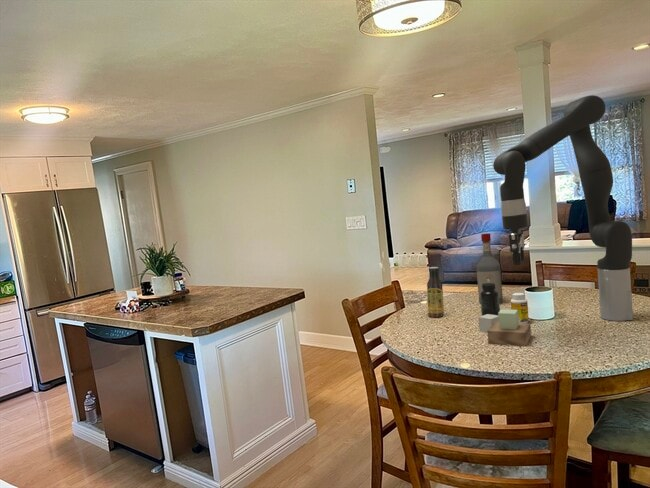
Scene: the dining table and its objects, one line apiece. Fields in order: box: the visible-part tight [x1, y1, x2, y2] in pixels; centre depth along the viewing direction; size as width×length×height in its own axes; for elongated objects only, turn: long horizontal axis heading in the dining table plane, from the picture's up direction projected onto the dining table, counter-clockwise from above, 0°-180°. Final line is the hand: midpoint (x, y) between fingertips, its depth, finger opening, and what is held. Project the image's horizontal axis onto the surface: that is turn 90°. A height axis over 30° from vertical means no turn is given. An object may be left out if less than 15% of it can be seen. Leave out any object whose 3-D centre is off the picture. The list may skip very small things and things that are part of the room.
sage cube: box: [498, 308, 519, 329], centre depth 141 cm, size 5×5×5 cm
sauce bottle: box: [426, 266, 445, 318], centre depth 179 cm, size 7×6×20 cm
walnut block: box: [486, 322, 532, 346], centre depth 142 cm, size 11×11×4 cm
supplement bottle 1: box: [480, 283, 501, 316], centre depth 173 cm, size 7×7×12 cm
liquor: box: [476, 232, 504, 305], centre depth 191 cm, size 9×9×30 cm
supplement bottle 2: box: [510, 292, 530, 323], centre depth 159 cm, size 6×6×10 cm
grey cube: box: [477, 314, 499, 333], centre depth 153 cm, size 5×5×5 cm
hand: (519, 262), depth 146 cm, fingers open, 8 cm apart
